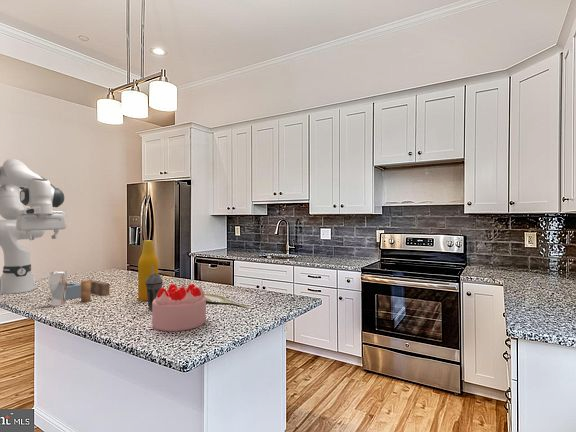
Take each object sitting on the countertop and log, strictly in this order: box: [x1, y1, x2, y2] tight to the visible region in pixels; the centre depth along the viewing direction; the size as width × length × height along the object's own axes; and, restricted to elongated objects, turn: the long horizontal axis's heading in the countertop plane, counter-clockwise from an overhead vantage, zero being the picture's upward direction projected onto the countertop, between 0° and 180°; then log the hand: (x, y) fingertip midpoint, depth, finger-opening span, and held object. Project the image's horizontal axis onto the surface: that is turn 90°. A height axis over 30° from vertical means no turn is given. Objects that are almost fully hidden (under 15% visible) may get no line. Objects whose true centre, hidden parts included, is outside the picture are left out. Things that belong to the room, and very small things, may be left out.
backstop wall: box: [90, 279, 110, 297], centre depth 183 cm, size 20×3×6 cm, turn 56°
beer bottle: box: [137, 239, 159, 302], centre depth 170 cm, size 9×9×29 cm
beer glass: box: [48, 270, 68, 307], centre depth 159 cm, size 7×7×15 cm
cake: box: [151, 283, 207, 332], centre depth 132 cm, size 20×20×14 cm
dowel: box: [80, 279, 92, 303], centre depth 165 cm, size 4×4×10 cm
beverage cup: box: [145, 264, 164, 311], centre depth 153 cm, size 7×7×20 cm
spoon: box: [204, 293, 253, 309], centre depth 162 cm, size 35×11×2 cm, turn 57°
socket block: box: [65, 282, 81, 301], centre depth 173 cm, size 10×10×6 cm
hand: (43, 239), depth 167 cm, fingers open, 8 cm apart
